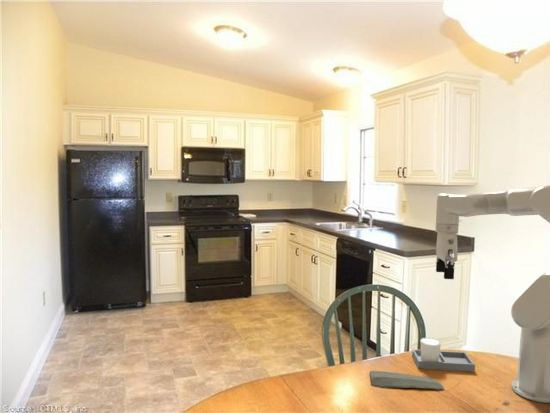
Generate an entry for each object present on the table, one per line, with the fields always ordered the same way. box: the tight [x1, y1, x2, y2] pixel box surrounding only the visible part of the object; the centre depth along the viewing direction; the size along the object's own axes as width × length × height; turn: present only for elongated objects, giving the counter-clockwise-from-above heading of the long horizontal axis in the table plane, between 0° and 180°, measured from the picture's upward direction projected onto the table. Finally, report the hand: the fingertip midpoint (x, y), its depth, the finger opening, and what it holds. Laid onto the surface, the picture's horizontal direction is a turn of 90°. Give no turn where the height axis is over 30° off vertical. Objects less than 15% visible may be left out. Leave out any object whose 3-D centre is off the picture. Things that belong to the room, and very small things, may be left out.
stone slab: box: [369, 370, 445, 391], centre depth 135 cm, size 22×3×10 cm
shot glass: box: [419, 337, 442, 362], centre depth 147 cm, size 7×7×7 cm
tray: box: [411, 348, 476, 373], centre depth 147 cm, size 10×19×2 cm, turn 84°
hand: (444, 275), depth 150 cm, fingers open, 9 cm apart
